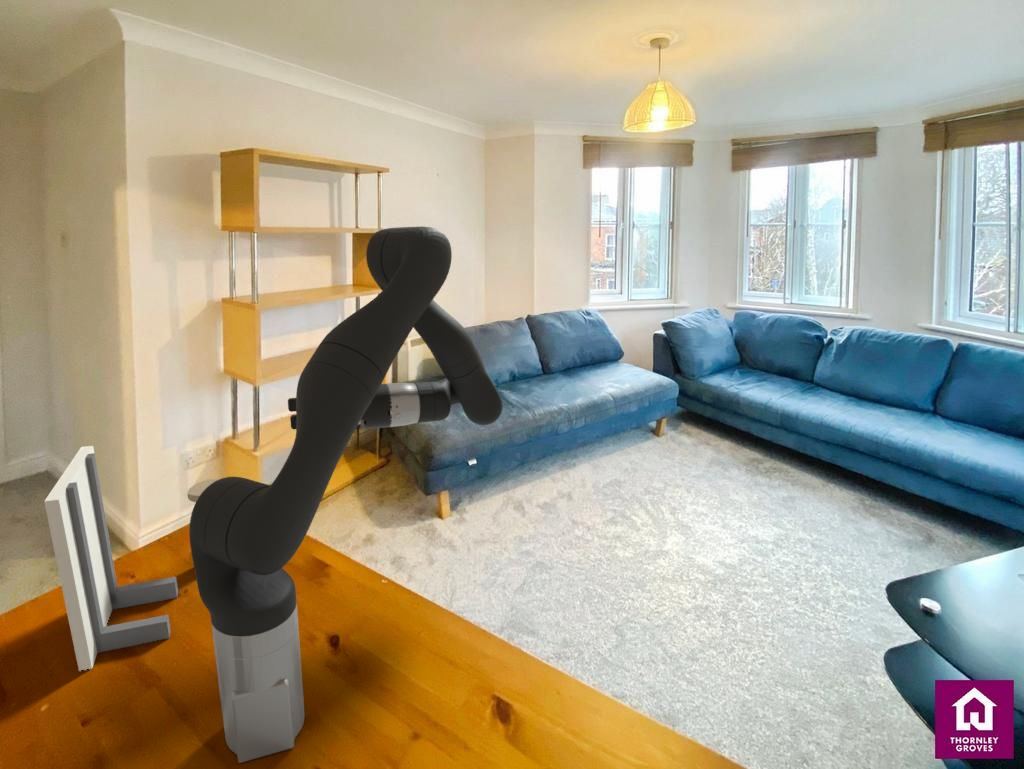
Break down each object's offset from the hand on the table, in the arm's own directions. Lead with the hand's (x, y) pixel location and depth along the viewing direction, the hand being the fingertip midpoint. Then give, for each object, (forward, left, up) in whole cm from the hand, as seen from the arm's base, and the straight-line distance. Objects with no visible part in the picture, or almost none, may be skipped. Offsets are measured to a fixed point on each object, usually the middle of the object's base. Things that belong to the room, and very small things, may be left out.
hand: (289, 413), depth 96 cm
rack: (-5, +24, -30) cm, 39 cm away
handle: (+8, +14, -30) cm, 34 cm away
